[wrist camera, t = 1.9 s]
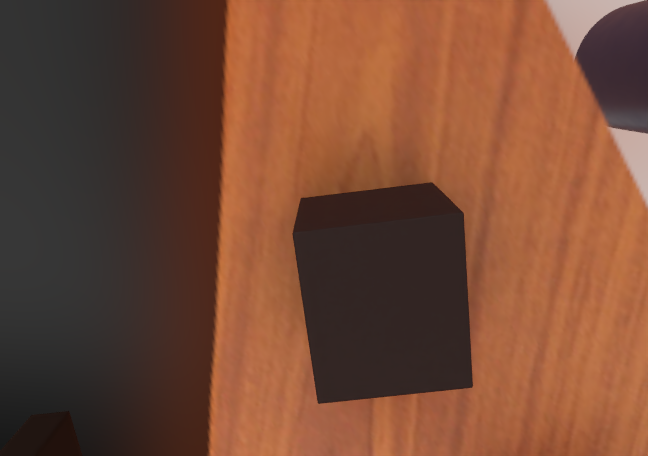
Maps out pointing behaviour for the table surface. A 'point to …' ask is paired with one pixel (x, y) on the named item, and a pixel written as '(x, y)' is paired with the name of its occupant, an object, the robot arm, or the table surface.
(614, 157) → the table surface
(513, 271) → the table surface
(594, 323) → the table surface
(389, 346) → the black cube
